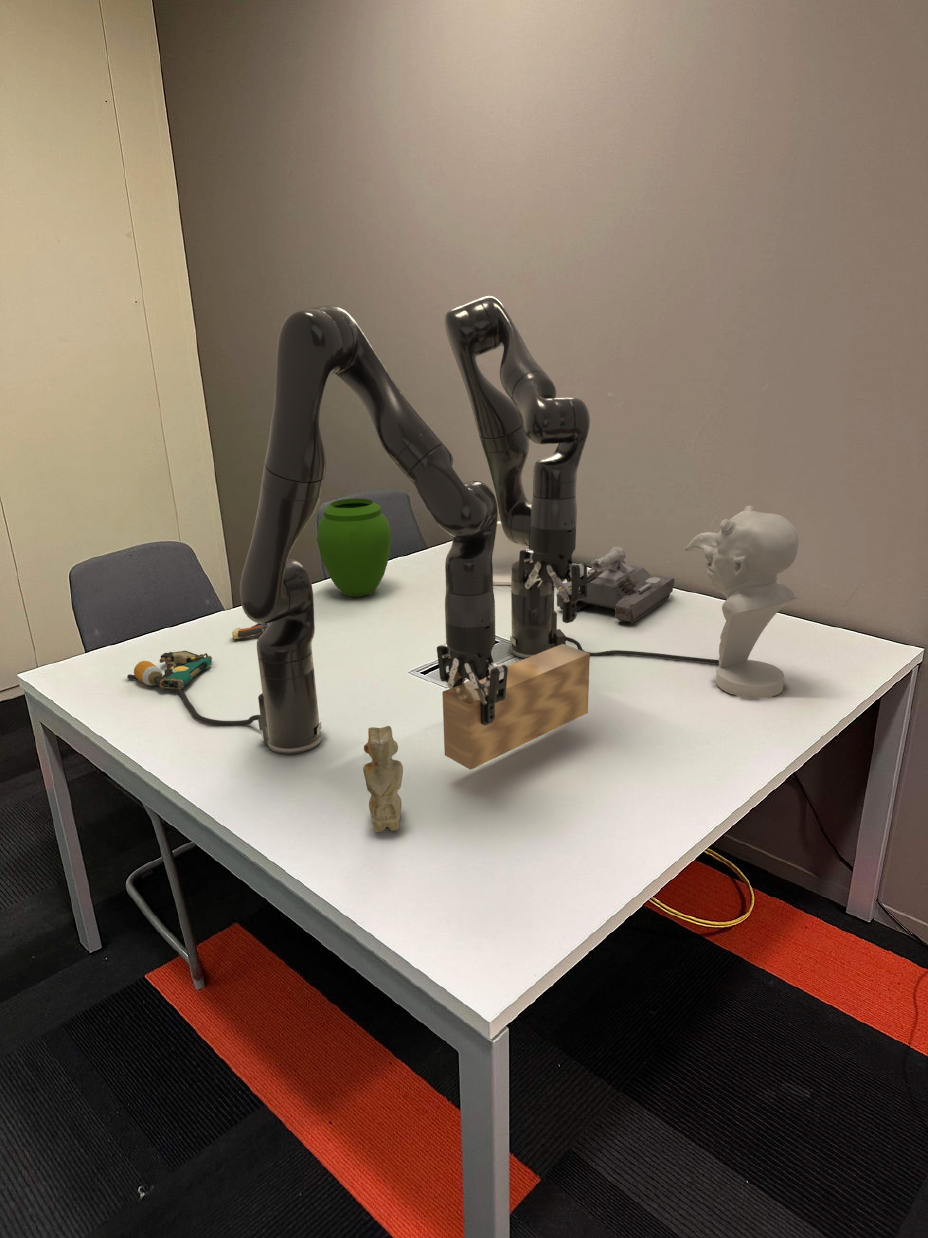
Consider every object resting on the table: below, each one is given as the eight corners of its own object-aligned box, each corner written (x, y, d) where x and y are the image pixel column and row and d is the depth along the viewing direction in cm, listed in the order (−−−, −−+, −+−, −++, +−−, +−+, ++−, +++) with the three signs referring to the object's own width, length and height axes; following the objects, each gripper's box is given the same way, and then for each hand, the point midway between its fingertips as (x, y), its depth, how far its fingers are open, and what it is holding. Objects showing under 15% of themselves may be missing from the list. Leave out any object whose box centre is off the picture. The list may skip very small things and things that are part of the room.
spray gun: (177, 659, 191) (231, 671, 185) (120, 684, 176) (176, 698, 171) (176, 641, 190) (230, 653, 184) (118, 665, 175) (174, 678, 169)
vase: (409, 587, 231) (404, 499, 223) (364, 609, 216) (357, 515, 208) (353, 577, 241) (346, 492, 233) (306, 597, 226) (297, 507, 218)
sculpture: (406, 808, 131) (401, 721, 126) (405, 835, 125) (400, 745, 119) (368, 810, 131) (361, 723, 126) (365, 837, 124) (358, 747, 119)
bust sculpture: (717, 648, 186) (730, 489, 174) (806, 688, 166) (828, 512, 154) (660, 663, 179) (669, 500, 167) (745, 707, 159) (763, 525, 147)
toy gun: (228, 631, 198) (268, 628, 196) (261, 608, 215) (298, 605, 213) (230, 642, 198) (270, 639, 196) (263, 618, 216) (300, 616, 214)
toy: (603, 584, 229) (605, 530, 224) (673, 597, 218) (677, 540, 213) (555, 612, 210) (556, 553, 205) (630, 627, 199) (633, 566, 194)
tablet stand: (569, 585, 229) (570, 524, 223) (476, 584, 232) (475, 523, 226) (570, 566, 246) (571, 508, 240) (484, 564, 249) (483, 507, 243)
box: (561, 701, 154) (562, 643, 150) (588, 713, 150) (590, 653, 146) (444, 755, 137) (442, 691, 133) (470, 770, 133) (468, 704, 129)
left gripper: (420, 610, 131) (425, 708, 137) (484, 635, 121) (486, 740, 127) (457, 599, 136) (460, 694, 142) (521, 622, 126) (521, 723, 132)
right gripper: (507, 518, 144) (506, 609, 149) (568, 533, 133) (564, 631, 139) (540, 512, 148) (537, 601, 154) (601, 526, 138) (596, 621, 143)
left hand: (472, 715), depth 134 cm, fingers closed on box, 6 cm apart
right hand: (550, 615), depth 146 cm, fingers open, 8 cm apart
